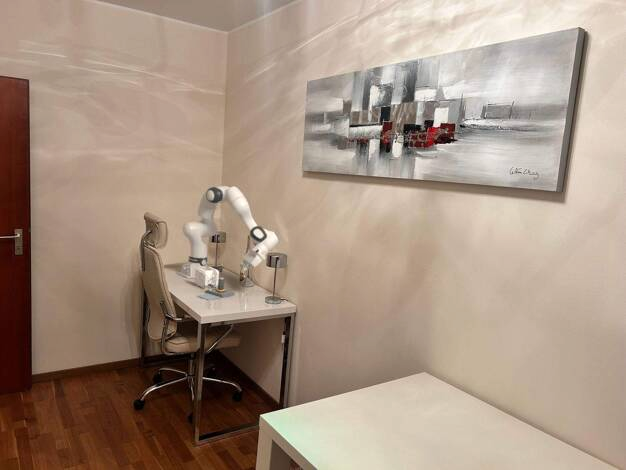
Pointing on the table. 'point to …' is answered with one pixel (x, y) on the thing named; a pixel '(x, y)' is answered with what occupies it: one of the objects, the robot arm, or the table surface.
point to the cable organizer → (206, 277)
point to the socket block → (222, 294)
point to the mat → (208, 296)
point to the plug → (220, 285)
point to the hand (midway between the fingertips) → (242, 268)
